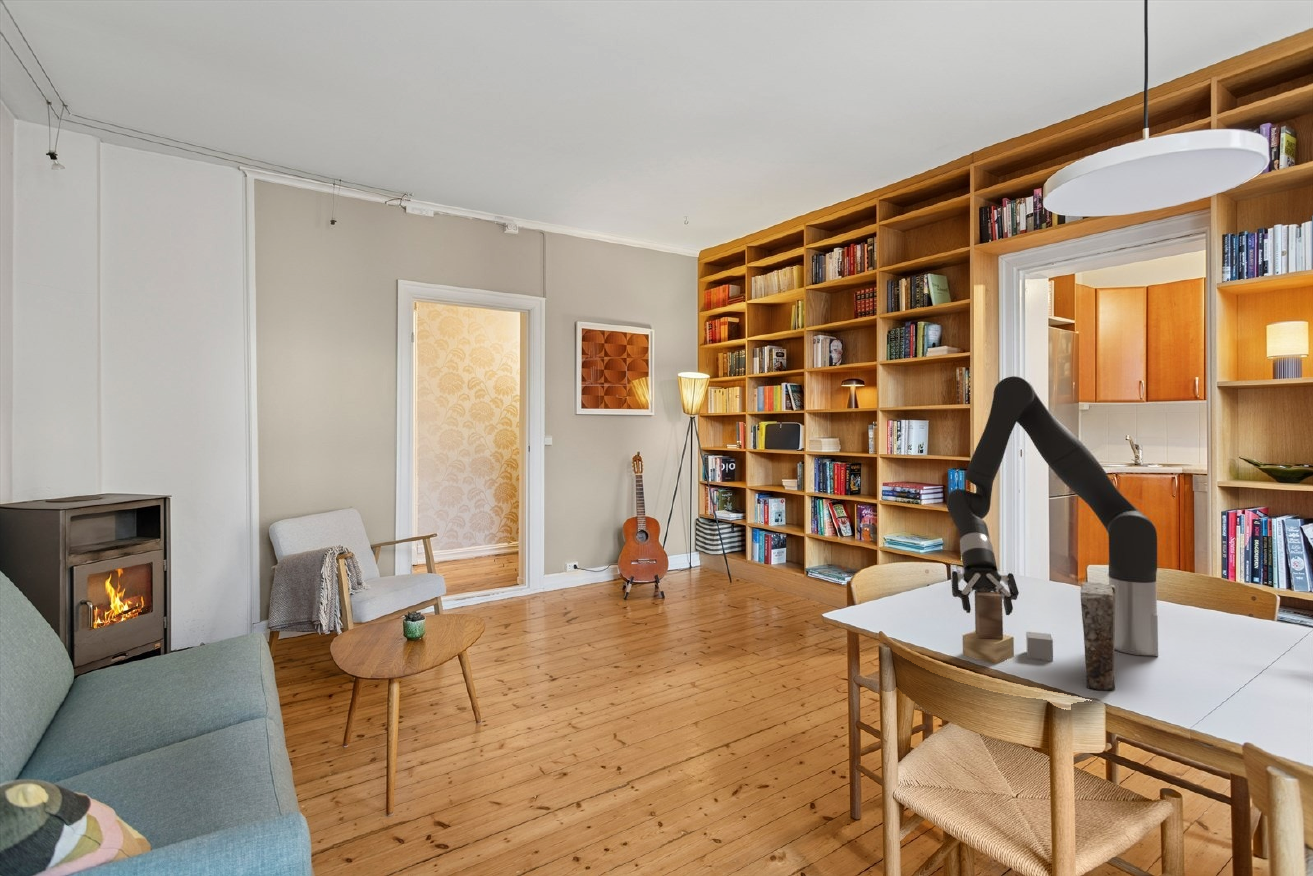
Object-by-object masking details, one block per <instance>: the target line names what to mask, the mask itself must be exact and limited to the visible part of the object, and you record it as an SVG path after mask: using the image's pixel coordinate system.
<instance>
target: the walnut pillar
mask: <svg viewBox="0 0 1313 876" xmlns="http://www.w3.org/2000/svg"><path fill="white" fill-rule="evenodd" d="M1003 617H1004V616H1003V599H1002V596H1001V595H1000V594H999V593H998V592H992V591H991V592H988V591H975V590H974V623H975V626H974V627H975V629H974V631H975V632H976V634H977V635H978V636H979V638H990V639H1003V635H1004V628H1003V627H1004V625H1003V624H1004V623H1003V619H1004V618H1003Z"/></svg>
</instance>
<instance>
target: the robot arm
mask: <svg viewBox="0 0 1313 876" xmlns="http://www.w3.org/2000/svg"><path fill="white" fill-rule="evenodd" d="M992 395H993V396H992V397H993V398H992V402H991V408H990V412H989V415H988V418H987V421H986V424H985V426H984V429H983V433H982V434H981V437H980V439H979V441H978V442H977V446H976V447H975V449H974V452H973V454H972V456H971V459H970V461H969V463H968V466H967V469H966V470H965V475H964V479H966V481H967V482H969V483H971V484H972V485H974V486H975V492H972V491H969V490H966V489H962V488H955V489H953V490H951V492H949V494H948V496H947V498H946V508H947V511H948V514H949V516H950V517H951V520H952V522H953V524H954V525H955V527H956V529H957V531H958V537H959V550H960V557H961V561H962V566H963V567H962V568H963V573H958V572H957V571H955V570H953V571H952V572H951V575H950V576H951V577H950V579H951V580H950V581H951V593H952V597H953V598H959V599H960V600H961V605H962V606H961V607H962V609H963V611H965V612H966V613H967V614H971V611H972V608H971V603H970V602H971V601H970V595H971V594H972V593H973V592H975V591H988V592H998V593H999V594H1000V595H1001V596H1002V604H1003V607H1004V612H1005V616H1010V615H1011V614H1012V613H1013V610H1014V606H1013V601H1016V600H1017V599H1018V597H1019V593H1020V592H1019V589H1018V585H1017V582H1016V579H1015V576H1014V574H1013V573H1010V572H1009V573H1008V574H1007V575H1005V574H1004V575H1003V574H1002V575H1001V574H1000V572H999V571H998V567H997V560H996V558H995V551H994V547H993V544H992V542H991V539H990V533H989V530H988V529H989V528H988V525H987V522H986V521H984V520H983V519H985V518H986V517H987V515H988V514H989V512H990V509H991V501H992V493H993V486H994V480H995V478H996V477H997V474H998V471H999V469H1000V467H1001V464H1002V463H1003V458H1004V455H1005V453H1006V450H1007V446H1008V442H1009V439H1010V436H1011V435H1012V433H1013V430H1014V428H1015V425H1016V424H1017V423H1018V425H1019V426H1020V427H1021V428H1022V429H1023V430H1024V431H1025V433H1026V434H1027V435H1028V436H1029V439H1030V440H1031V442H1032V443H1033V445H1034V446H1035V448H1036V450H1037V451H1038V453H1039V454H1040V456H1041V458H1042V459H1043V460H1044V461H1045V463H1046V464H1047V465H1048V466H1049V468H1050V469H1051V470H1052V471H1053V472H1054V474H1055V475H1056V476H1057V477H1058V478H1059V479H1060V480H1061V481H1062V482H1063V483H1064V484H1065V485H1066V486H1067V487H1068V488H1069V489H1070V490H1071V491H1072V492H1073V493H1075V495H1077V497H1079V498H1080V499H1081V500H1082V501H1084V503H1086V504H1087V505H1088V507H1090V509H1091V510H1092V512H1093V513H1094V514H1095V515H1096V517H1097V518H1098V519H1099V521H1100V523H1101V524H1102V526H1103V527H1104V528H1105V530H1106V532H1107V534H1108V584H1110V585H1114V586H1115V587H1116V599H1115V641H1114V651H1118V652H1121V653H1124V654H1125V653H1126V654H1130V655H1135V656H1153V657H1155V656H1156V657H1159V628H1158V627H1159V625H1158V624H1159V622H1158V621H1159V620H1158V617H1159V616H1158V608H1157V607H1158V600H1157V598H1158V597H1157V595H1158V594H1157V571H1158V533H1157V529H1156V527H1155V525H1154V524H1153V522H1152V521H1151V520H1150V518H1148V517H1147V516H1146V515H1145V514H1143V513H1142V512H1141V511H1140V510H1138V509H1137V508H1136V507H1135V505H1133V504H1132V503H1131V502H1130V501H1129V500H1128V499H1127V498H1126V497H1125V496H1124V495H1123V494H1122V493H1121V492H1120V491H1119V490H1118V488H1117V487H1116V486H1115V484H1114V483H1113V482H1112V480H1111V478H1110V477H1109V475H1108V474H1107V473H1106V471H1105V469H1104V468H1103V465H1101V464H1100V463H1099V461H1098V460H1097V458H1096V457H1095V456H1094V455H1093V454H1092V453H1091V451H1090V450H1089V448H1087V447H1086V446H1085V445H1084V443H1083V442H1082V441H1081V440H1080V439H1079V438H1078V437H1077V436H1076V435H1075V434H1074V433H1073V432H1072V431H1070V430H1069V428H1067V427H1066V426H1065V425H1064V424H1063V423H1061V422H1060V421H1059V420H1058V419H1057V418H1056V417H1055V416H1054V415H1053V414H1052V413H1051V412H1050V411H1049V410H1048V408H1047V407H1046V406H1045V404H1044V403H1043V401H1042V400H1041V399H1040V397H1039V396H1038V394H1037V393H1036V390H1035V389H1034V387H1033V385H1032V384H1031V383H1030V381H1028V380H1027V379H1026V378H1024V377H1022V376H1015V375H1012V376H1008V377H1005V378H1003V379H1001V380H1000V381H999V382H998V383H997V384H996V386H995V387H994V390H993V394H992ZM962 580H963V581H964V582H965V583H966V586H965V587H964V588H963V590H962V589H960V587H959V586H960V585H959V583H961V581H962ZM1001 582H1003V583H1004V584H1005V585H1006V586H1007V588H1008V590H1007V589H1006V588H1005V586H1004V585H1003V584H1002V583H1001Z"/></svg>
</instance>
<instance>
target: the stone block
mask: <svg viewBox="0 0 1313 876" xmlns="http://www.w3.org/2000/svg"><path fill="white" fill-rule="evenodd" d="M1080 584H1081V585H1080V606H1081V607H1080V608H1081V620H1082V630H1083V632H1082V633H1083V641H1084V642H1083V643H1084V644H1083V645H1084V661H1085V662H1084V663H1085V669H1086V671H1085V672H1086V674H1085V675H1086V676H1085V677H1086V683H1085V684H1086V685H1085V686H1086V689H1090V690H1095V691H1096V690H1097V691H1105V690H1106V691H1109V690H1111V691H1113V690H1115V689H1116V686H1115V676H1114V673H1115V672H1114V671H1115V670H1114V669H1115V668H1114V667H1115V649H1114V641H1115V599H1116V587H1115V586H1114V585H1110V584H1109V583H1101V582H1090V581H1082V582H1081V583H1080Z"/></svg>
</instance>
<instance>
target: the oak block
mask: <svg viewBox="0 0 1313 876" xmlns="http://www.w3.org/2000/svg"><path fill="white" fill-rule="evenodd" d="M1014 637H1015V636H1010V635H1007V634H1003V639H990V638H979V636H978V635H977V634H976V632H975V630H974V631H971V632H968V633H965V634H962V656H965V655H966V656H965V657H968V656H969V658H973V659H976V660H979V659H980V661H982V660H983V662H985V663H990V664H994V665H998V664H1001V663H1004V662H1006V661H1008V660H1010V659H1012V657H1013V658H1014V657H1015V649H1014V648H1015V646H1014V639H1015V638H1014ZM1007 659H1008V660H1007ZM1005 660H1006V661H1005Z"/></svg>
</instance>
